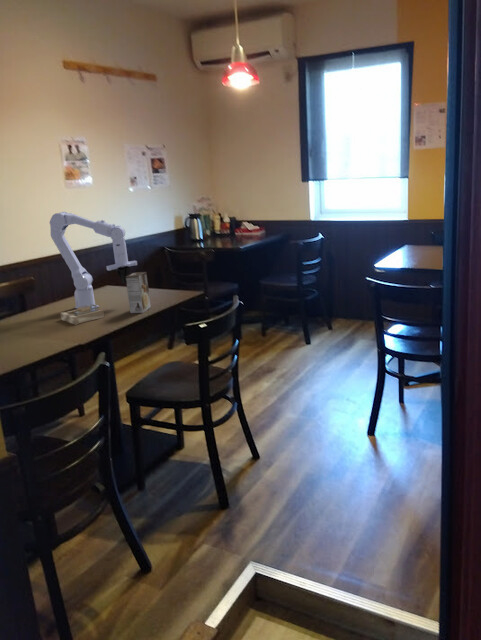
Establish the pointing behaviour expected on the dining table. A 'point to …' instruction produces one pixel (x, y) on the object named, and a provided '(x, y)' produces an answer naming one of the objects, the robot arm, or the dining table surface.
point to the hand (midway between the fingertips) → (124, 283)
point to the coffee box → (138, 292)
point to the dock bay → (81, 316)
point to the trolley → (85, 309)
